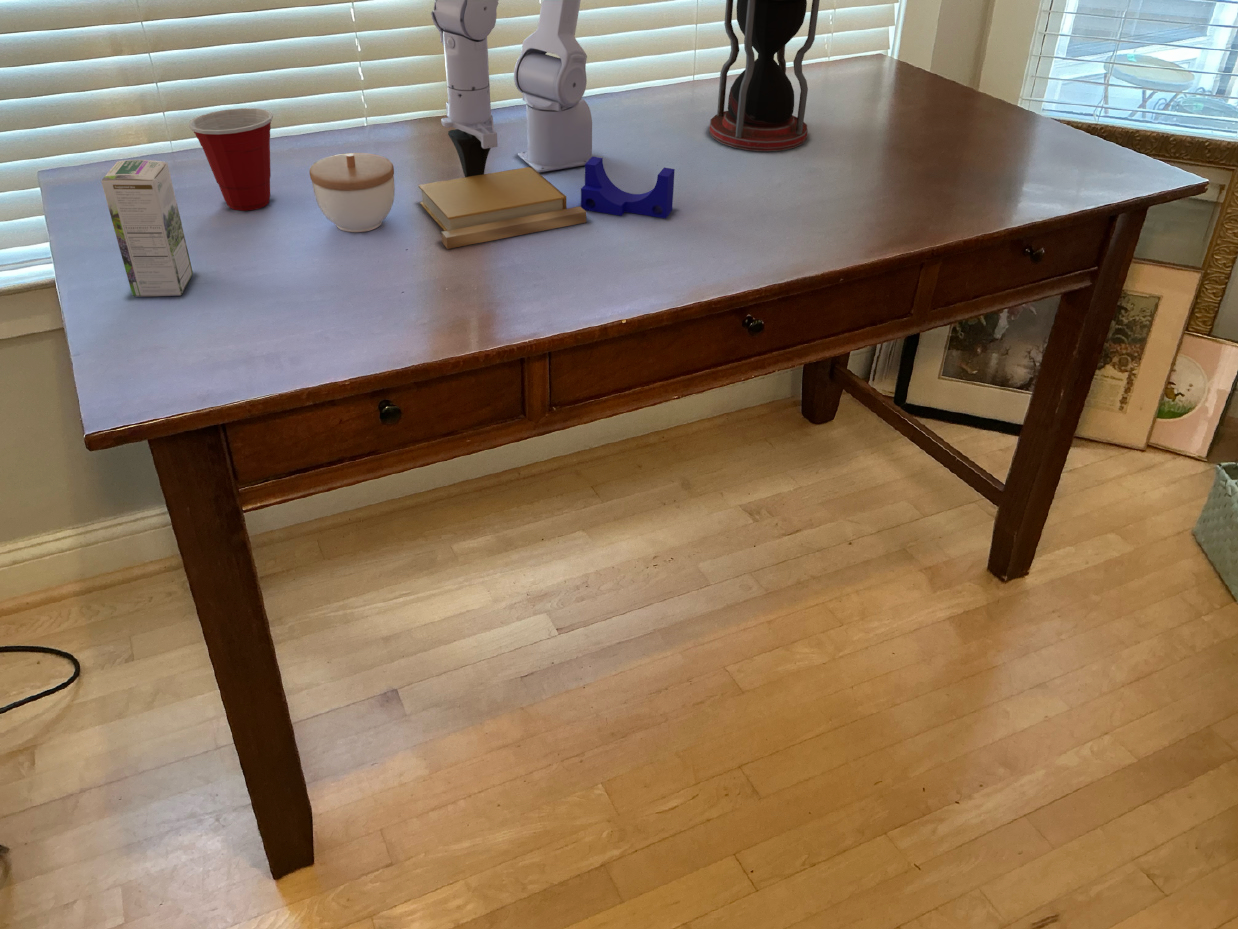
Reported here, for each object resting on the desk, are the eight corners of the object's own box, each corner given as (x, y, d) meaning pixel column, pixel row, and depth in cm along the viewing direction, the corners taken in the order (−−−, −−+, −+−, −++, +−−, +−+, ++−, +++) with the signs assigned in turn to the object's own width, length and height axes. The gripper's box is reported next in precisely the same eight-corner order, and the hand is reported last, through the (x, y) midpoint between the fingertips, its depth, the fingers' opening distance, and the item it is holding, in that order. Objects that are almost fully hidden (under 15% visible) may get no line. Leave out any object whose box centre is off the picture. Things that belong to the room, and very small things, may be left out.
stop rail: (580, 216, 142) (580, 205, 141) (586, 222, 140) (586, 211, 139) (442, 242, 134) (441, 231, 133) (447, 249, 133) (446, 237, 132)
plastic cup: (263, 181, 149) (247, 97, 142) (303, 203, 143) (288, 117, 136) (192, 200, 143) (172, 114, 136) (230, 225, 137) (211, 136, 129)
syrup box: (146, 275, 125) (113, 159, 116) (195, 274, 125) (167, 158, 117) (132, 297, 120) (97, 178, 112) (184, 296, 121) (153, 177, 112)
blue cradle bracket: (580, 209, 144) (581, 167, 140) (592, 197, 147) (592, 156, 144) (662, 222, 141) (664, 180, 137) (672, 210, 144) (674, 168, 141)
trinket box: (381, 243, 133) (372, 174, 128) (304, 234, 135) (292, 165, 129) (411, 211, 142) (404, 144, 136) (338, 203, 143) (328, 136, 138)
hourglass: (822, 130, 172) (846, -32, 156) (780, 159, 161) (801, -13, 145) (736, 111, 178) (751, -47, 163) (691, 138, 167) (702, -29, 152)
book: (531, 184, 150) (531, 166, 149) (566, 215, 142) (566, 196, 140) (420, 203, 144) (418, 184, 142) (449, 237, 135) (448, 217, 134)
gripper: (422, 72, 142) (430, 167, 150) (459, 104, 132) (466, 204, 140) (470, 66, 145) (476, 160, 153) (510, 97, 135) (513, 196, 143)
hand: (474, 181), depth 147 cm, fingers closed
